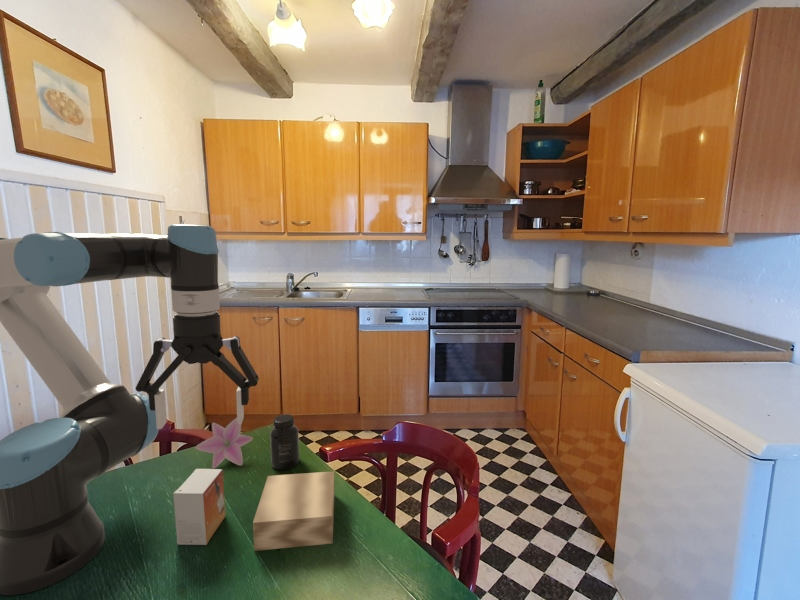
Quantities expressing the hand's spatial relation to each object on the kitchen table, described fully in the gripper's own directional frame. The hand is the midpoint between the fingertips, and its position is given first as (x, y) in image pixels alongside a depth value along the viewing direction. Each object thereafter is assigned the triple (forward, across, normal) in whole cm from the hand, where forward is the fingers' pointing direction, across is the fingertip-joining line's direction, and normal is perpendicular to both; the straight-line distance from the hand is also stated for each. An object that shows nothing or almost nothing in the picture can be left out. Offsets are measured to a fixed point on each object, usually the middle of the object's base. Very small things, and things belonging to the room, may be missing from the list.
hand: (202, 423), depth 73 cm
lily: (+22, -1, +24) cm, 32 cm away
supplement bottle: (+22, +14, +19) cm, 32 cm away
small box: (+22, 0, -1) cm, 22 cm away
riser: (+21, +18, -2) cm, 28 cm away
